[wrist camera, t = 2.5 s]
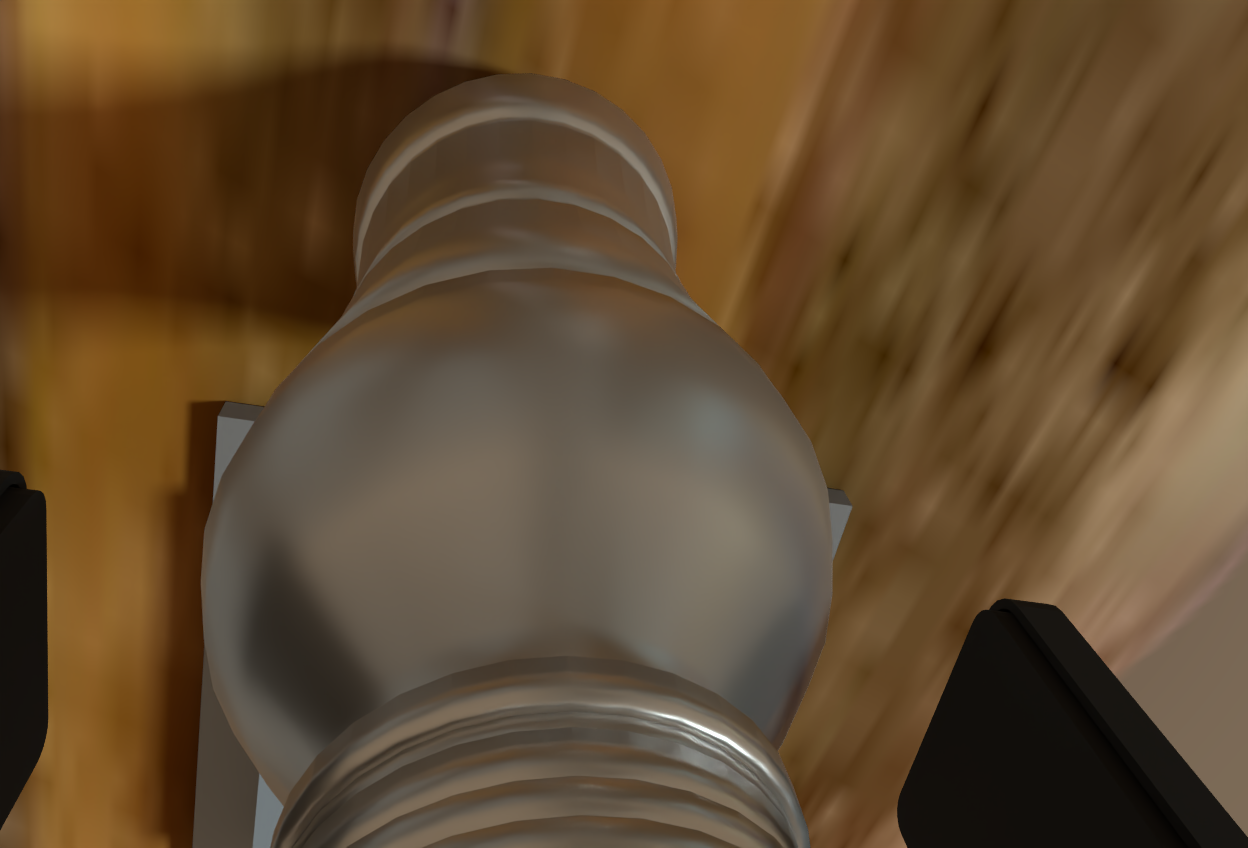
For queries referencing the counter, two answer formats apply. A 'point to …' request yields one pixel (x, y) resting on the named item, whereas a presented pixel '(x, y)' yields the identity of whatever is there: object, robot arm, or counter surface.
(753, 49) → the counter surface
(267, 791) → the blue-grey square tray
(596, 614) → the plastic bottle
